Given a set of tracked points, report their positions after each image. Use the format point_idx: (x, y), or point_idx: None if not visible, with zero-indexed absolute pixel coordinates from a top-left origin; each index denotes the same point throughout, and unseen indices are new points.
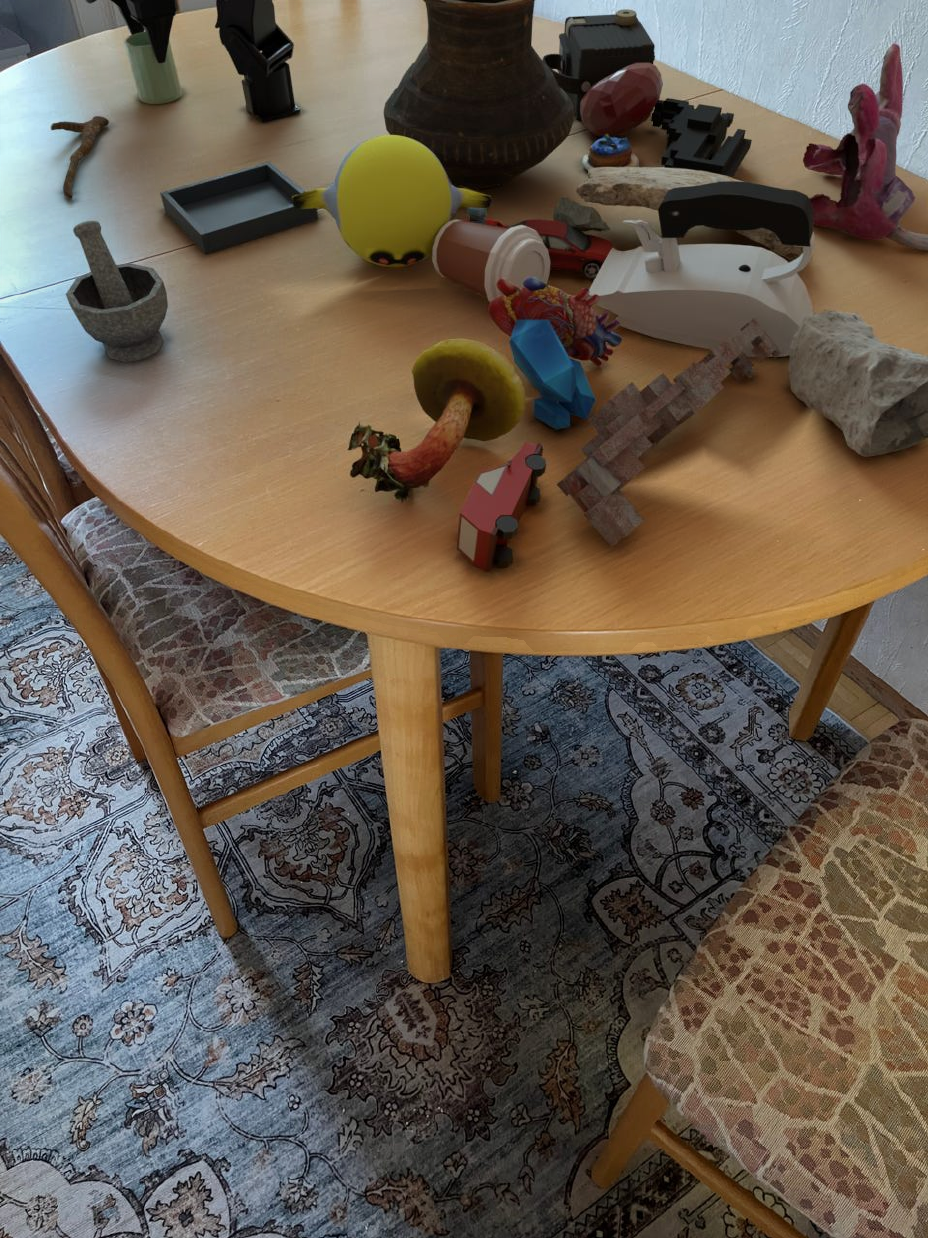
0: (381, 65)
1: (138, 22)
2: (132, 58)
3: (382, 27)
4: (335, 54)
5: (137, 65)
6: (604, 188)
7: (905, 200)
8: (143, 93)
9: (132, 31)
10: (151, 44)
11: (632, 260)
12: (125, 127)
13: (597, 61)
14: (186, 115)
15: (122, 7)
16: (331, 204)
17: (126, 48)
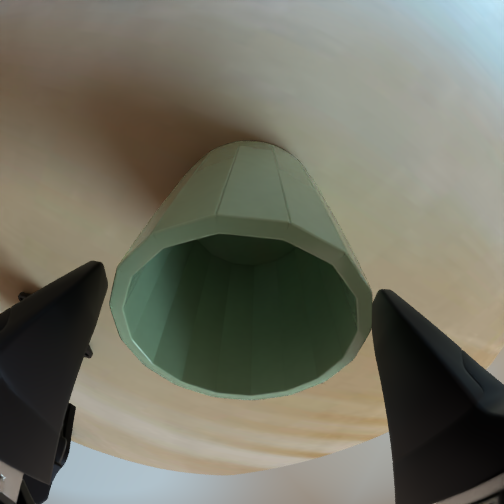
0: (159, 432)
1: (396, 383)
2: (208, 185)
3: (259, 458)
4: (221, 434)
5: (190, 183)
6: None
7: None
8: (221, 150)
9: (403, 328)
10: (26, 299)
11: None
12: (95, 35)
13: None
14: (79, 202)
15: (468, 416)
16: None
17: (268, 201)
